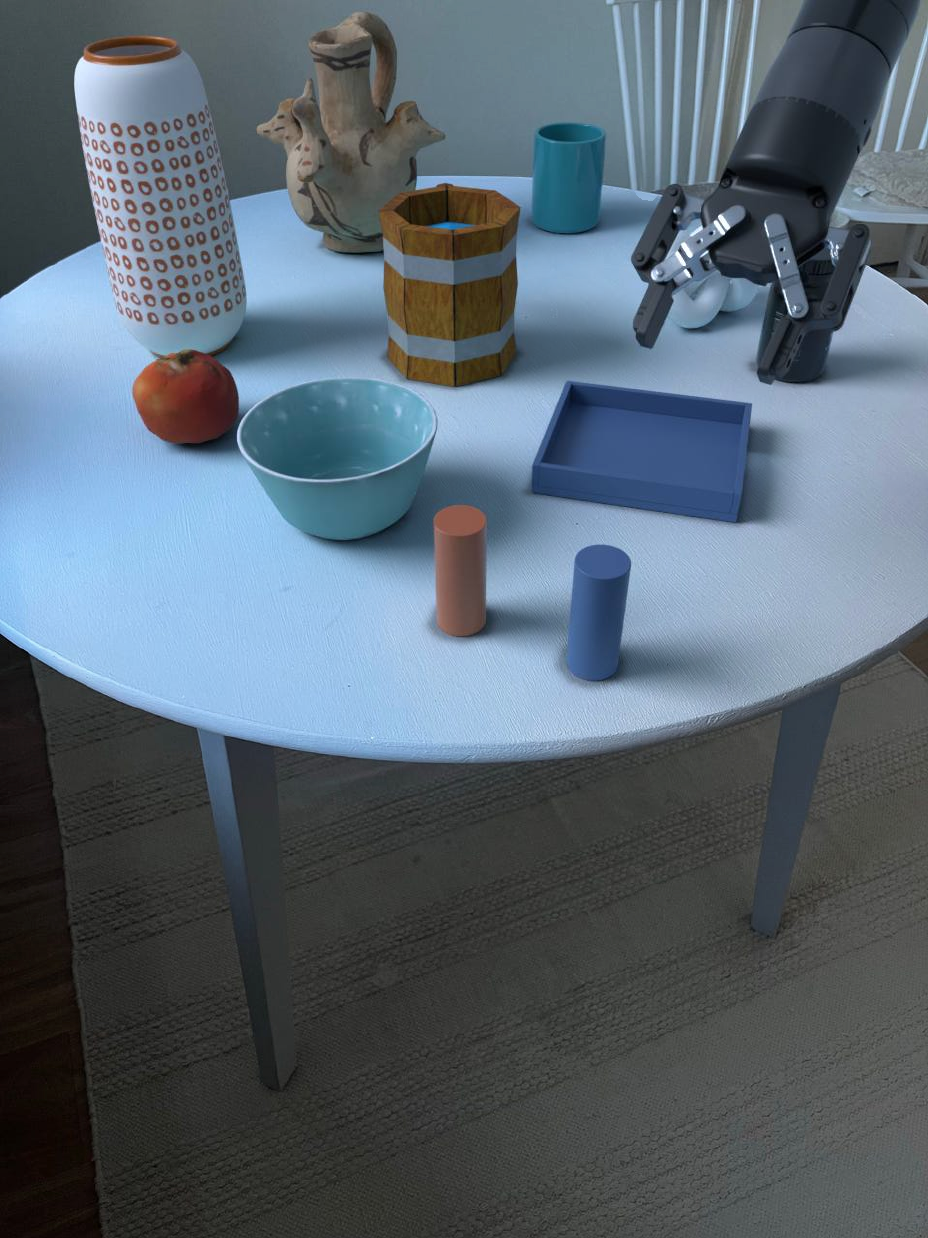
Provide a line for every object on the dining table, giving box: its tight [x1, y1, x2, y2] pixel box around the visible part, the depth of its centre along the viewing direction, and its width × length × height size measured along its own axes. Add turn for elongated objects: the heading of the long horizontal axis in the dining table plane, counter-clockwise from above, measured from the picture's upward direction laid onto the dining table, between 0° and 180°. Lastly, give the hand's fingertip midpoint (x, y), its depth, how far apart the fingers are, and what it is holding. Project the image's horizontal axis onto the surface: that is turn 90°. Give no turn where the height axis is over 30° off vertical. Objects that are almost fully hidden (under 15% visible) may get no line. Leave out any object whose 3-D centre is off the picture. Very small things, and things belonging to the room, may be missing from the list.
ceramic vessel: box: [256, 11, 447, 253], centre depth 120 cm, size 18×19×25 cm
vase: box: [73, 35, 248, 359], centre depth 98 cm, size 13×13×28 cm
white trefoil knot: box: [665, 225, 760, 329], centre depth 109 cm, size 11×12×9 cm
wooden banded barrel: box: [378, 182, 522, 388], centre depth 102 cm, size 20×14×15 cm
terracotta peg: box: [433, 504, 488, 637], centre depth 70 cm, size 4×4×9 cm
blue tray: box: [530, 380, 753, 523], centre depth 89 cm, size 17×15×3 cm
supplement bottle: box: [755, 247, 835, 383], centre depth 98 cm, size 7×7×12 cm
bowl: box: [236, 376, 438, 541], centre depth 81 cm, size 16×16×8 cm
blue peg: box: [565, 544, 632, 682], centre depth 67 cm, size 4×4×9 cm
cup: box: [530, 121, 607, 234], centre depth 131 cm, size 9×12×11 cm
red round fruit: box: [131, 350, 240, 445], centre depth 91 cm, size 9×9×8 cm
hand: (701, 361), depth 65 cm, fingers open, 8 cm apart
